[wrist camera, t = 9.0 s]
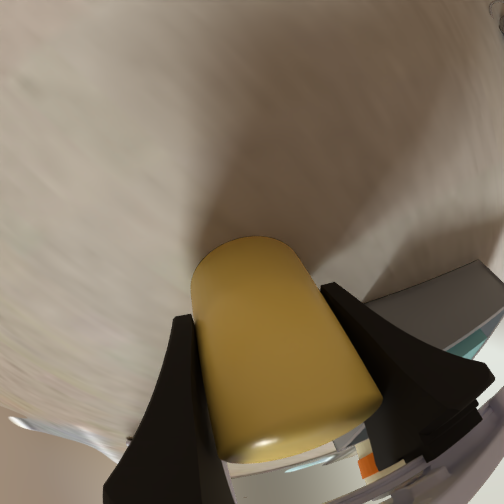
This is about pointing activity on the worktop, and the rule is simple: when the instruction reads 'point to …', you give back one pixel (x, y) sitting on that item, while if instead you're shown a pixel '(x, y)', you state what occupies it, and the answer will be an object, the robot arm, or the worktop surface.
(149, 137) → the worktop surface
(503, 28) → the kitchen whisk
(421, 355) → the robot arm
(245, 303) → the cylinder
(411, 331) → the tote
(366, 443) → the reusable coffee cup
